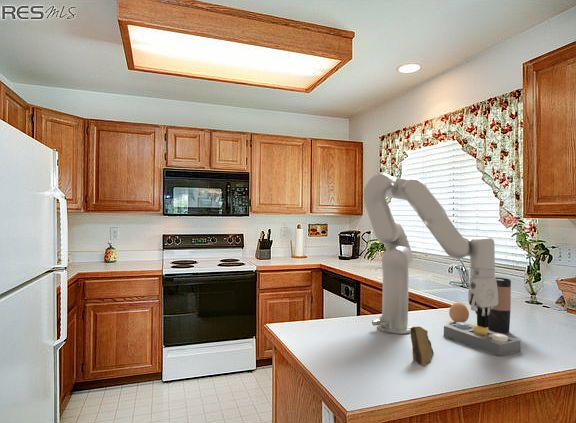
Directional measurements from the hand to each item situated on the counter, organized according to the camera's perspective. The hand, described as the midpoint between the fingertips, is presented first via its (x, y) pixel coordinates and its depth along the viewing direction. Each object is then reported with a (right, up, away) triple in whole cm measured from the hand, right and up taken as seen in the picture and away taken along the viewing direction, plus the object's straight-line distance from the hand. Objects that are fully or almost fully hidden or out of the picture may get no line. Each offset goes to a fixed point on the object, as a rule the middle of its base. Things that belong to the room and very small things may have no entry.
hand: (482, 326), depth 126 cm
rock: (-25, -5, -15) cm, 30 cm away
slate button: (-4, -4, +7) cm, 9 cm away
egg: (+3, -6, +24) cm, 25 cm away
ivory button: (+2, -4, -6) cm, 8 cm away
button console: (-1, -6, 0) cm, 6 cm away
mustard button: (-1, -3, 0) cm, 3 cm away
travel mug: (+14, -7, +15) cm, 22 cm away
